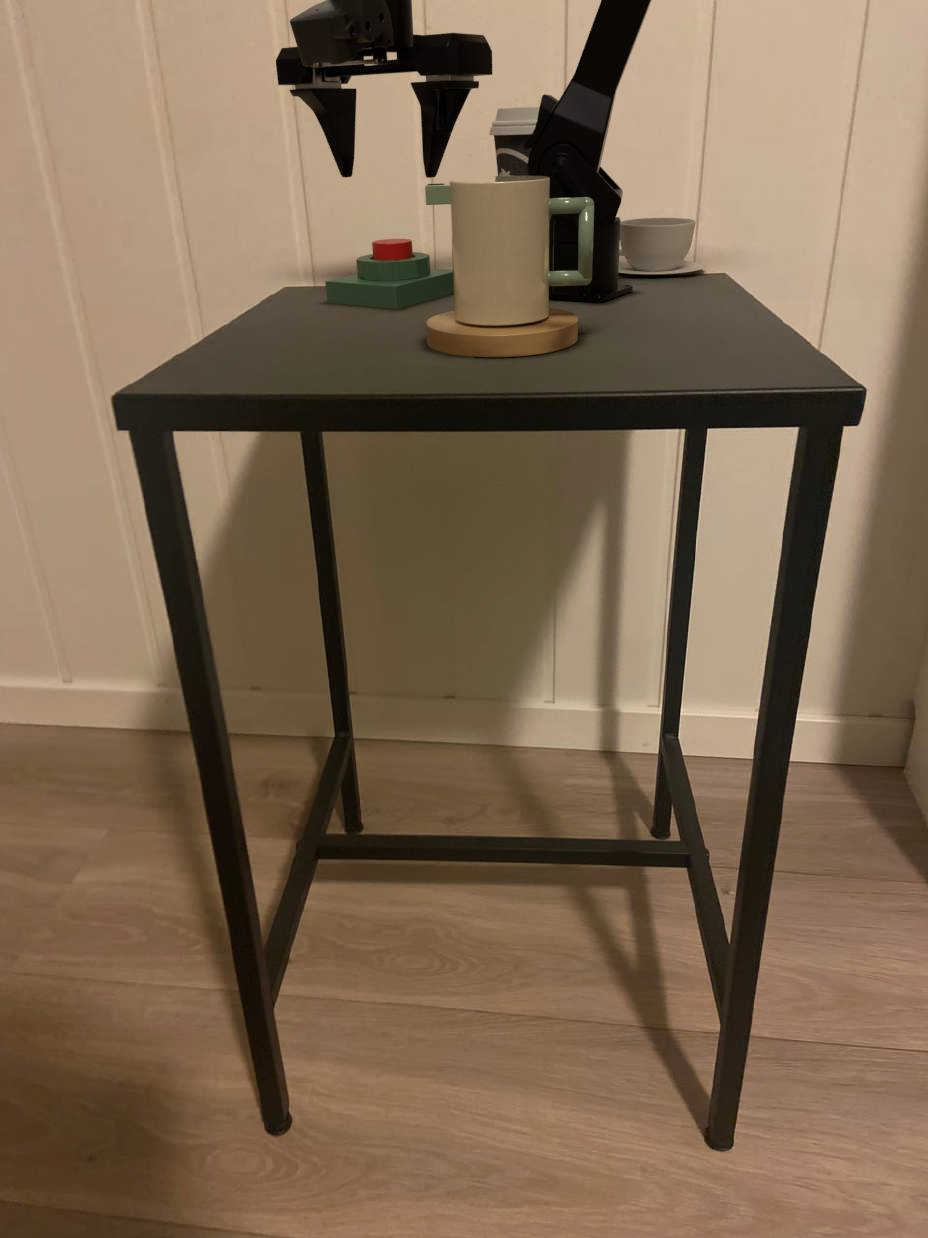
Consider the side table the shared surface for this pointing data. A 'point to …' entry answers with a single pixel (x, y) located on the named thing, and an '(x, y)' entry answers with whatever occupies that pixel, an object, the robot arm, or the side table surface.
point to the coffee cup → (516, 147)
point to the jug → (508, 246)
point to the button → (392, 249)
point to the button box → (391, 283)
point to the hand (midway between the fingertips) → (387, 177)
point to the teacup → (656, 246)
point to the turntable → (502, 336)
